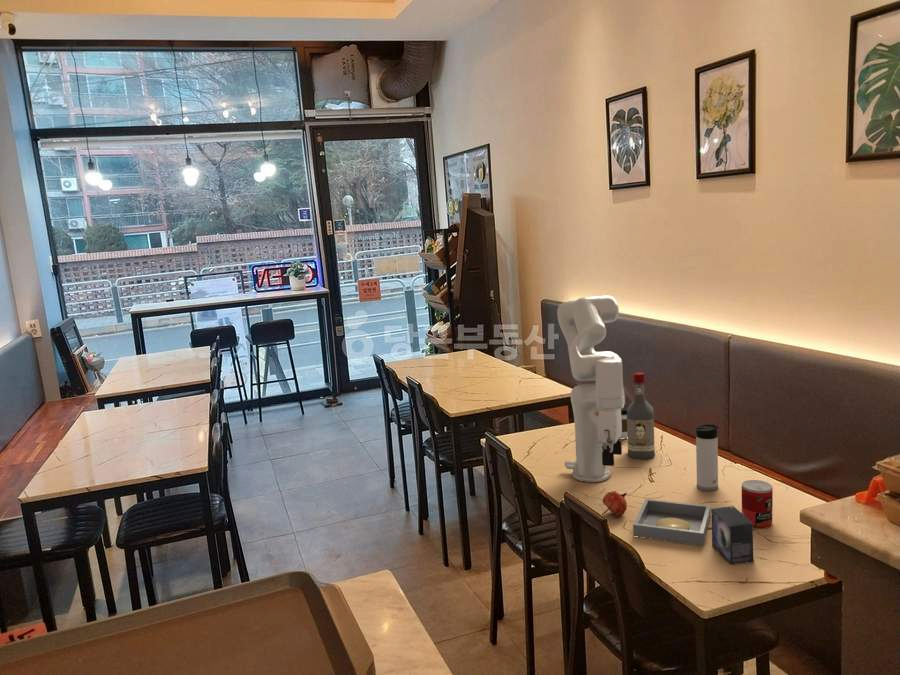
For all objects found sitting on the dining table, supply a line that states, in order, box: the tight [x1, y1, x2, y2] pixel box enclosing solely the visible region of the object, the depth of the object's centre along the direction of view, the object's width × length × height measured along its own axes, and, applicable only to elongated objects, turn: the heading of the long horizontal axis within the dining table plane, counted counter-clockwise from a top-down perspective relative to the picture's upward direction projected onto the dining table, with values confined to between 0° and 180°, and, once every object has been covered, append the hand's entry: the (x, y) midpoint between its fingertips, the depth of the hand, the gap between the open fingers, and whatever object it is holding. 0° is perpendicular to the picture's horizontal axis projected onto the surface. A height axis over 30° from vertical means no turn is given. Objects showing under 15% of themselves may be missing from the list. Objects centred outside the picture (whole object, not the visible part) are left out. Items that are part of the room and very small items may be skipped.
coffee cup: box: [621, 403, 630, 438], centre depth 270 cm, size 11×11×12 cm
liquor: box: [627, 372, 656, 460], centre depth 248 cm, size 9×9×30 cm
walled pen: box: [632, 498, 712, 547], centre depth 193 cm, size 18×18×4 cm
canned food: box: [741, 479, 774, 530], centre depth 191 cm, size 8×8×11 cm
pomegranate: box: [602, 491, 628, 518], centre depth 203 cm, size 7×7×10 cm
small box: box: [710, 505, 755, 565], centre depth 176 cm, size 11×6×10 cm, turn 5°
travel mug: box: [695, 423, 720, 492], centre depth 217 cm, size 6×7×20 cm
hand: (612, 459), depth 200 cm, fingers open, 9 cm apart
